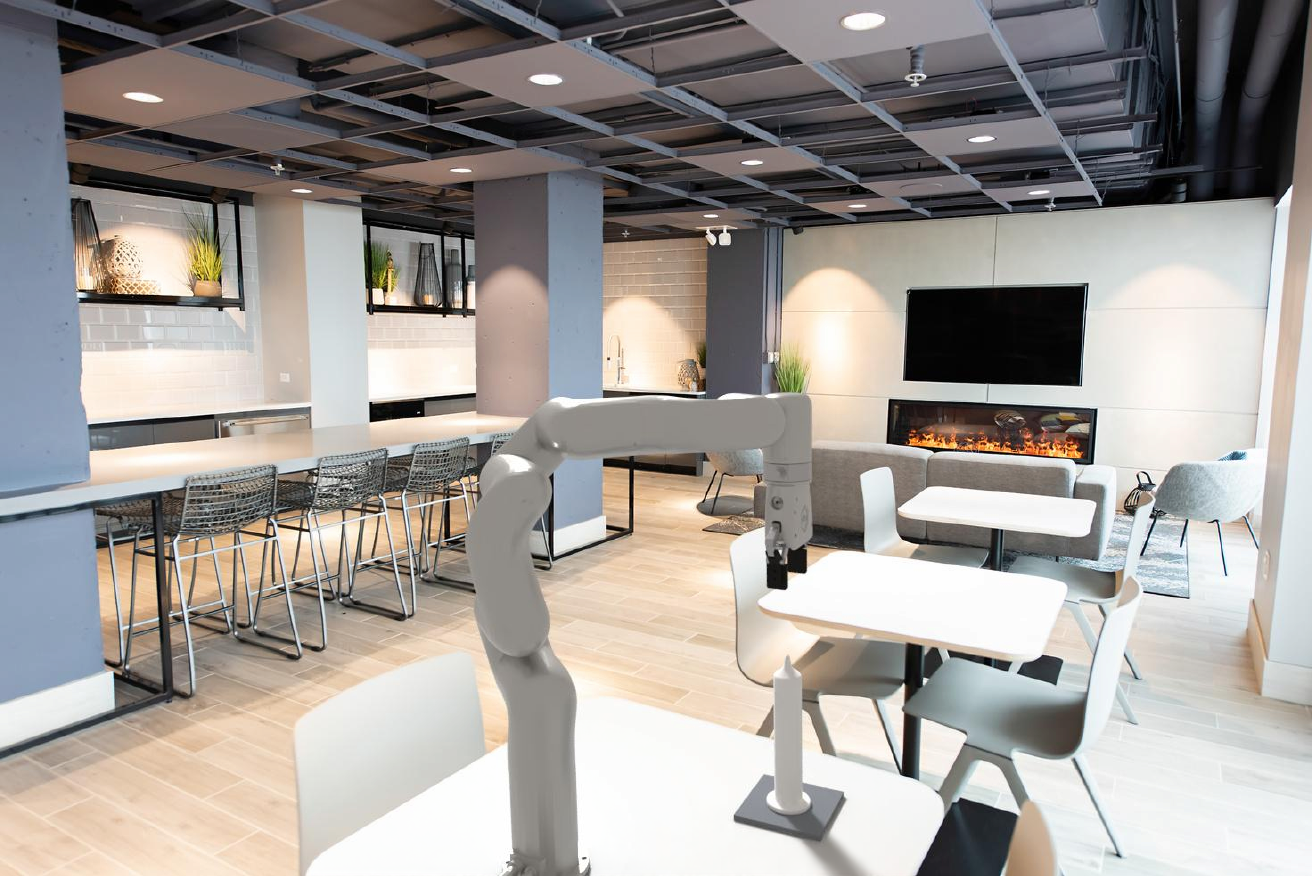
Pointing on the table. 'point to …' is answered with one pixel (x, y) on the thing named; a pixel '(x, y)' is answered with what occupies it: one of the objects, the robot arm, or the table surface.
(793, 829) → the mat
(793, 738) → the candle
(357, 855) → the table surface
